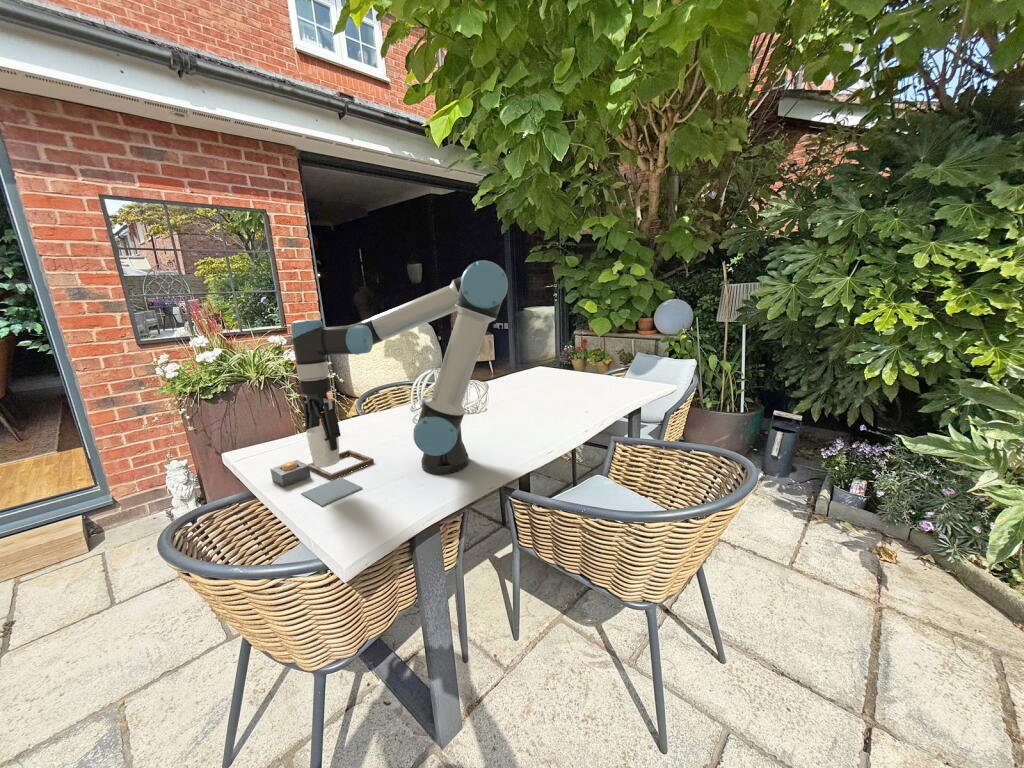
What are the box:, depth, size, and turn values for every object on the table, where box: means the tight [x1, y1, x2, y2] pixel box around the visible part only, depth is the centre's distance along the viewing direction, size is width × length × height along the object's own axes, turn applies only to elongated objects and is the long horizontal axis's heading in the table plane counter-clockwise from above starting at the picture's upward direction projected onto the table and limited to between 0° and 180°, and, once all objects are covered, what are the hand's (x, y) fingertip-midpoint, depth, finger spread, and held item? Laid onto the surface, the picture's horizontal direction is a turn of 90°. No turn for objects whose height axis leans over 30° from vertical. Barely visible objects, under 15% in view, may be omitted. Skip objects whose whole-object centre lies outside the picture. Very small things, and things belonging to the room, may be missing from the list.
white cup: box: [305, 424, 341, 469], centre depth 111 cm, size 8×8×10 cm
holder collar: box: [307, 449, 375, 481], centre depth 131 cm, size 15×15×2 cm
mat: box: [300, 476, 363, 508], centre depth 114 cm, size 12×12×1 cm
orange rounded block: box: [281, 460, 297, 472], centre depth 123 cm, size 4×4×4 cm
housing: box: [270, 459, 311, 488], centre depth 123 cm, size 8×8×4 cm
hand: (326, 457), depth 112 cm, fingers closed on white cup, 7 cm apart
